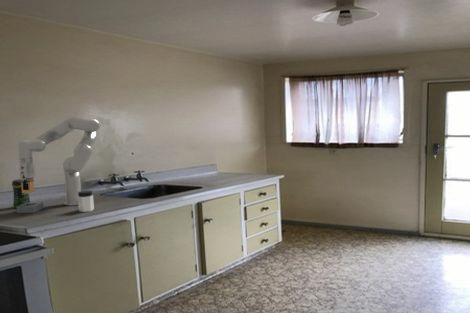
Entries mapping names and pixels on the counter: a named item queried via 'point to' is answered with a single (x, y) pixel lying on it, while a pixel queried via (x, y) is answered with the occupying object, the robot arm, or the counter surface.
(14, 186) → the coffee jar
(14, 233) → the counter surface
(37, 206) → the holder
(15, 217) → the counter surface
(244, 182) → the counter surface
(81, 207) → the jar
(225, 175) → the counter surface
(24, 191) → the block
